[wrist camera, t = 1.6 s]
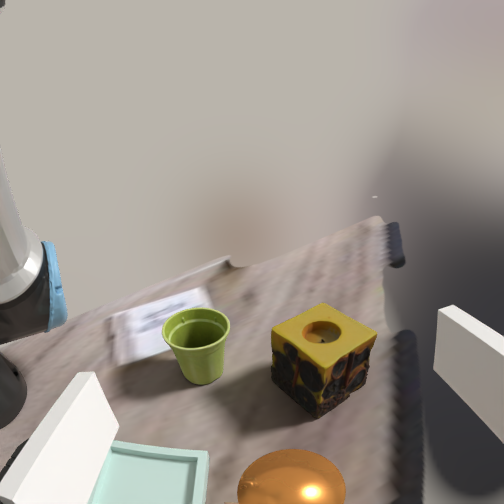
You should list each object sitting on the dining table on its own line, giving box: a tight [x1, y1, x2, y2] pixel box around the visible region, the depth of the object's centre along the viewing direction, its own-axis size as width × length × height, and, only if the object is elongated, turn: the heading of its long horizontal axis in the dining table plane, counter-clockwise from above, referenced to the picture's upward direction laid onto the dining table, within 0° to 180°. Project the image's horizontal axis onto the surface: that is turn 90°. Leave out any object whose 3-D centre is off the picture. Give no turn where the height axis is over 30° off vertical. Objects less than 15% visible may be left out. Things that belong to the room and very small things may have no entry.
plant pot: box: [162, 308, 230, 384], centre depth 44 cm, size 9×9×9 cm
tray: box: [87, 440, 210, 504], centre depth 26 cm, size 13×13×2 cm
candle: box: [271, 303, 377, 418], centre depth 41 cm, size 10×10×10 cm
